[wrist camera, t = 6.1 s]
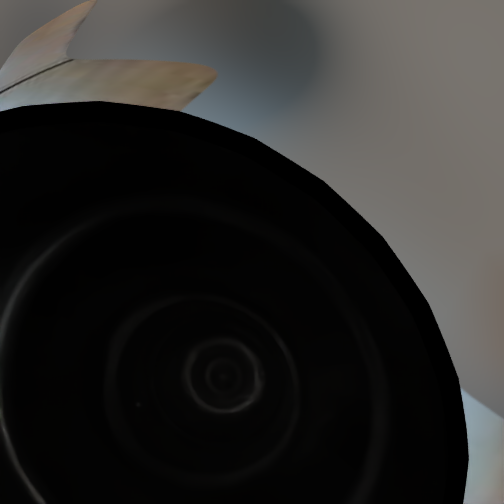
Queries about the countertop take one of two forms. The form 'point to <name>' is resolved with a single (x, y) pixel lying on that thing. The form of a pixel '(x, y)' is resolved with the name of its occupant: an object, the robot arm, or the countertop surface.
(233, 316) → the silver bottle
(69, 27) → the countertop surface
